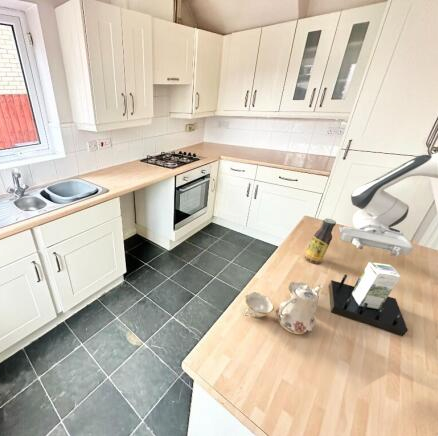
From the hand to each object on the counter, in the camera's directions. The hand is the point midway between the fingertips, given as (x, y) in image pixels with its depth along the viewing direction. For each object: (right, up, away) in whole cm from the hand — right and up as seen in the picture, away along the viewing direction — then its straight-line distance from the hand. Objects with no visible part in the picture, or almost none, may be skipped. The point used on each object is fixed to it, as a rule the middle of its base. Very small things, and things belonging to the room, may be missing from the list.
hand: (377, 251), depth 85 cm
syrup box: (-8, -17, -4) cm, 19 cm away
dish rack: (-8, -19, -3) cm, 21 cm away
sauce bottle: (-9, -7, +20) cm, 23 cm away
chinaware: (-35, -21, -5) cm, 41 cm away
